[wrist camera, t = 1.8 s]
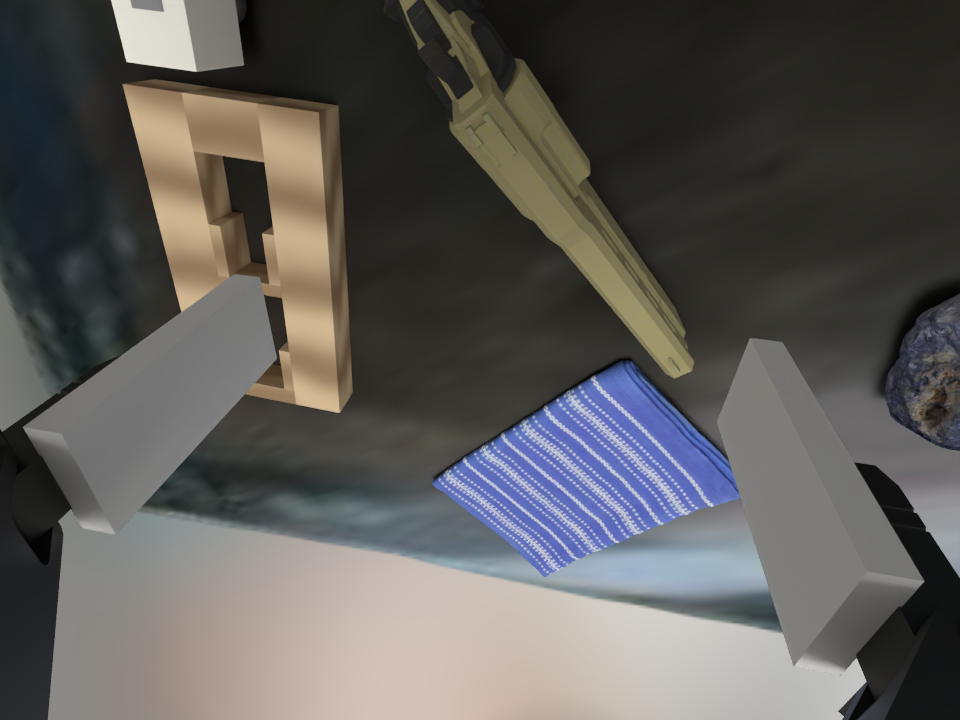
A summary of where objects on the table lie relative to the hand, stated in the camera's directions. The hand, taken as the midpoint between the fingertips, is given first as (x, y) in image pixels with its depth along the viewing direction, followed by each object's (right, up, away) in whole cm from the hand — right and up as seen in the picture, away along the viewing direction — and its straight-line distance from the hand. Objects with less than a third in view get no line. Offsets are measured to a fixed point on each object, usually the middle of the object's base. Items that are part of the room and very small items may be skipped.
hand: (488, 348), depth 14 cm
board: (-17, +8, +27) cm, 33 cm away
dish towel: (+9, -11, +35) cm, 38 cm away
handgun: (+5, +14, +19) cm, 24 cm away
